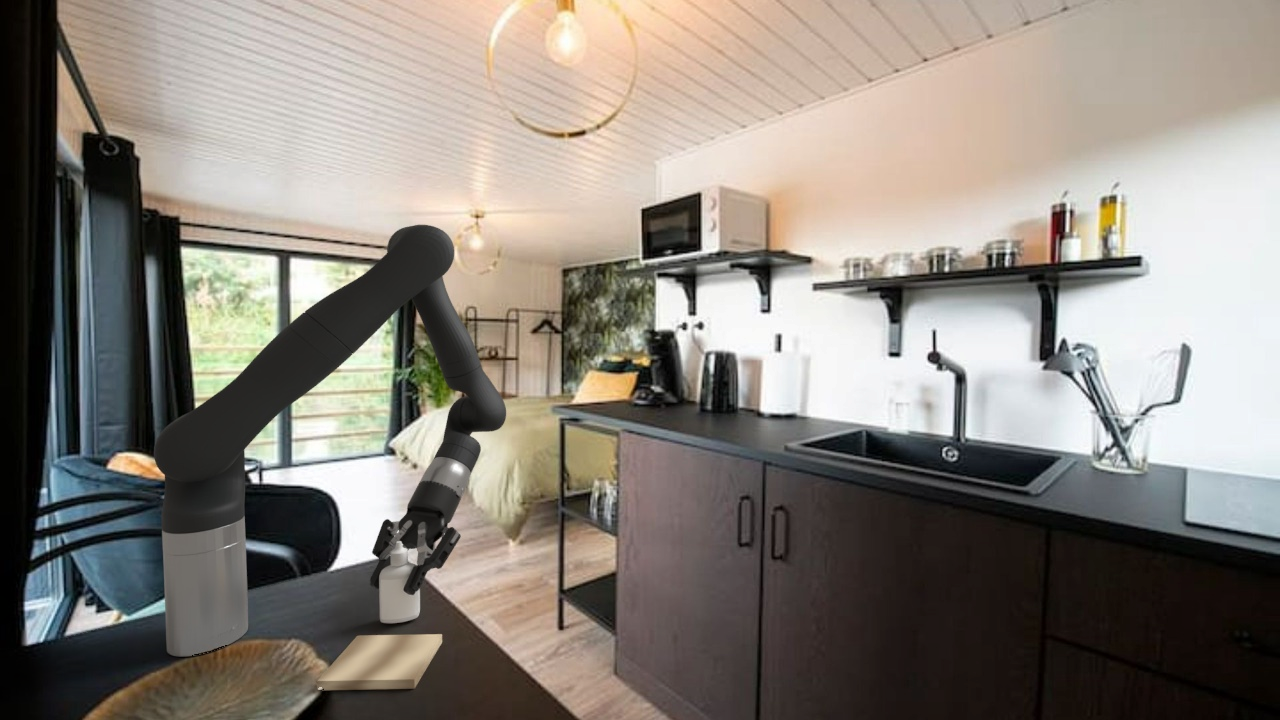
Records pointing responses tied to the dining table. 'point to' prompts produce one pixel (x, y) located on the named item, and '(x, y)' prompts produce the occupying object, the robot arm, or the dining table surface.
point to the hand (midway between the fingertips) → (391, 589)
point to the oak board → (381, 662)
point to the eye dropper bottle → (397, 589)
